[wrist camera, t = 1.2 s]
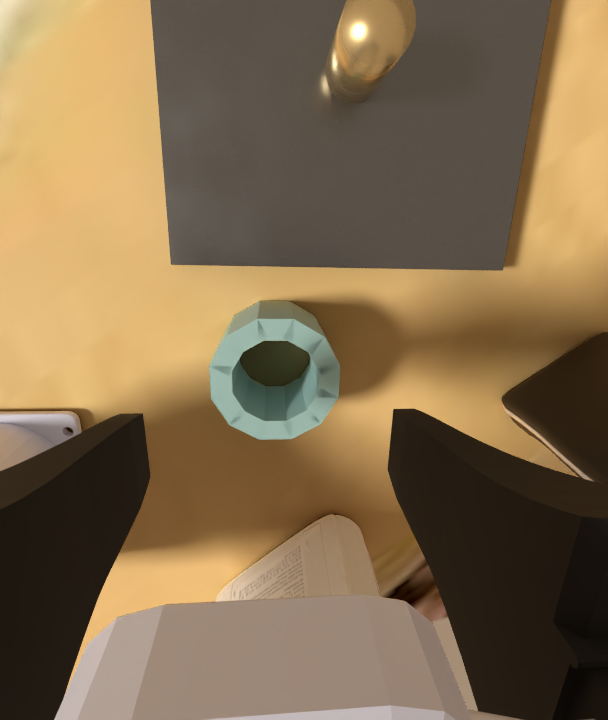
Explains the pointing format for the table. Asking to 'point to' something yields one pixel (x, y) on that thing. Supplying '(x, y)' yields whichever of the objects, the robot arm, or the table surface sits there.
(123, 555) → the table surface
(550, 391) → the battery charger
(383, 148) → the hub plate
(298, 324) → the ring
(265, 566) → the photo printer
